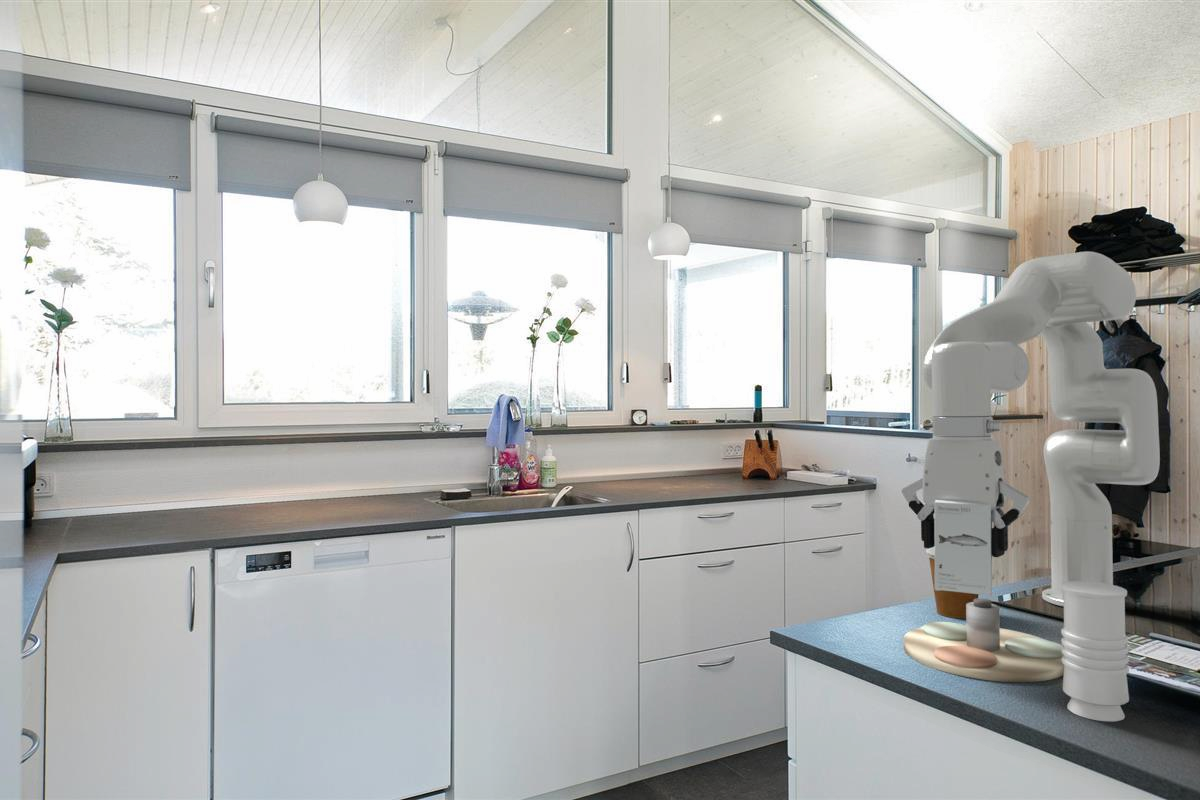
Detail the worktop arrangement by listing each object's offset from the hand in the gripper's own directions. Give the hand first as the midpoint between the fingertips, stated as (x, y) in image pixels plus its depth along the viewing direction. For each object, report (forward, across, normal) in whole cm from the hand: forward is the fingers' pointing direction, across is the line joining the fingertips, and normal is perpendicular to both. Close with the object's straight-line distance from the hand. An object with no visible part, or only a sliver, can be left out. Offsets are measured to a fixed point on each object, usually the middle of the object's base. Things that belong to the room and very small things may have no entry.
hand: (963, 550), depth 108 cm
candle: (+17, -17, +5) cm, 24 cm away
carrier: (+16, 0, -7) cm, 18 cm away
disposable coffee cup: (+17, +11, -26) cm, 33 cm away
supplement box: (+5, 0, 0) cm, 5 cm away
